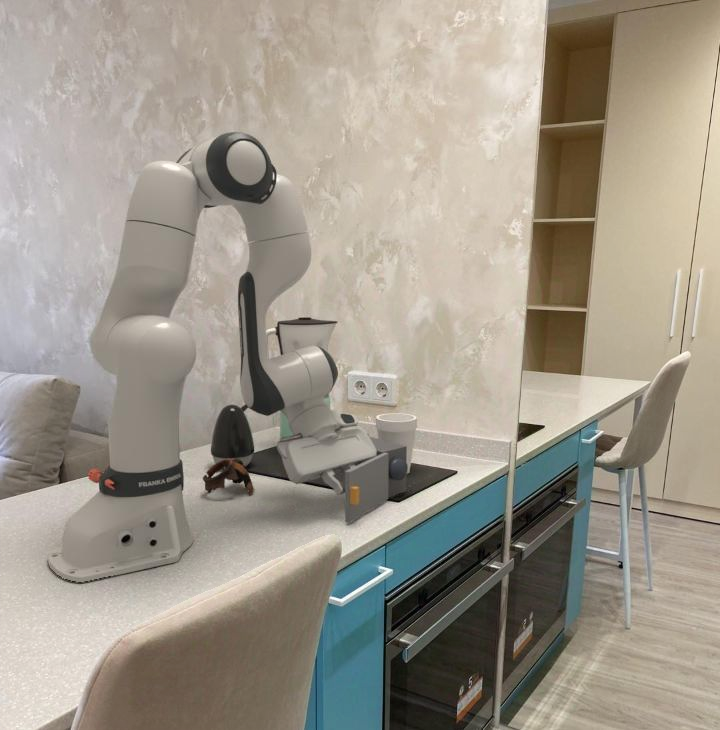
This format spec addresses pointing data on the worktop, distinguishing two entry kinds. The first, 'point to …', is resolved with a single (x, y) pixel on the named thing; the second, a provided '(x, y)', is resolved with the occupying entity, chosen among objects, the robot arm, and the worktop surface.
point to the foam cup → (398, 431)
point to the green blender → (300, 346)
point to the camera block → (390, 465)
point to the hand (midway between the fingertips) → (349, 491)
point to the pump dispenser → (232, 436)
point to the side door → (366, 486)
